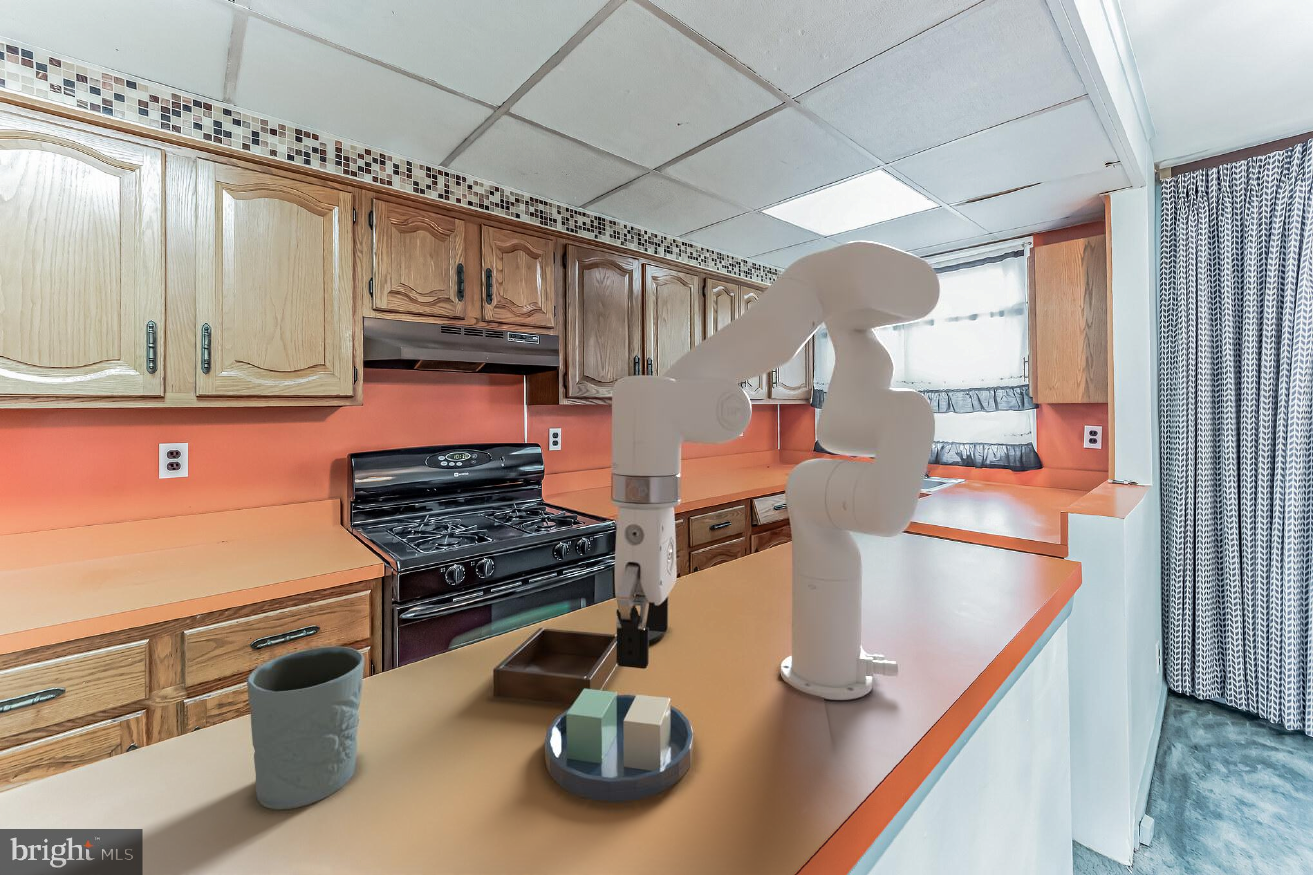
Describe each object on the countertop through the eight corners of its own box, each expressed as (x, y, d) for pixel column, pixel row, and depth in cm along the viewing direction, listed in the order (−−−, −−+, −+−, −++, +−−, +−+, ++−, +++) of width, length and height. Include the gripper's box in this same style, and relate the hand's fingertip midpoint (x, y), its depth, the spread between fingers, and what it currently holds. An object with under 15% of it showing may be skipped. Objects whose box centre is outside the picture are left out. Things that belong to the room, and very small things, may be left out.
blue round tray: (701, 722, 66) (701, 702, 66) (679, 818, 50) (679, 791, 50) (577, 707, 69) (577, 688, 69) (519, 792, 53) (518, 768, 53)
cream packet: (670, 740, 61) (670, 697, 61) (660, 772, 56) (660, 725, 56) (636, 736, 62) (636, 694, 62) (623, 766, 57) (623, 720, 56)
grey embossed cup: (288, 752, 60) (286, 646, 60) (382, 747, 61) (380, 643, 60) (223, 819, 50) (220, 693, 49) (337, 813, 51) (334, 688, 50)
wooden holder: (621, 661, 83) (621, 634, 83) (590, 711, 68) (590, 679, 68) (540, 652, 86) (539, 627, 86) (493, 699, 71) (492, 669, 71)
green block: (616, 733, 63) (616, 691, 62) (601, 763, 57) (601, 717, 57) (584, 729, 63) (584, 688, 63) (566, 758, 58) (566, 713, 58)
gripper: (663, 503, 49) (661, 688, 49) (692, 483, 66) (690, 621, 66) (585, 499, 51) (583, 679, 51) (633, 481, 67) (631, 616, 68)
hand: (644, 646), depth 59 cm, fingers open, 9 cm apart
